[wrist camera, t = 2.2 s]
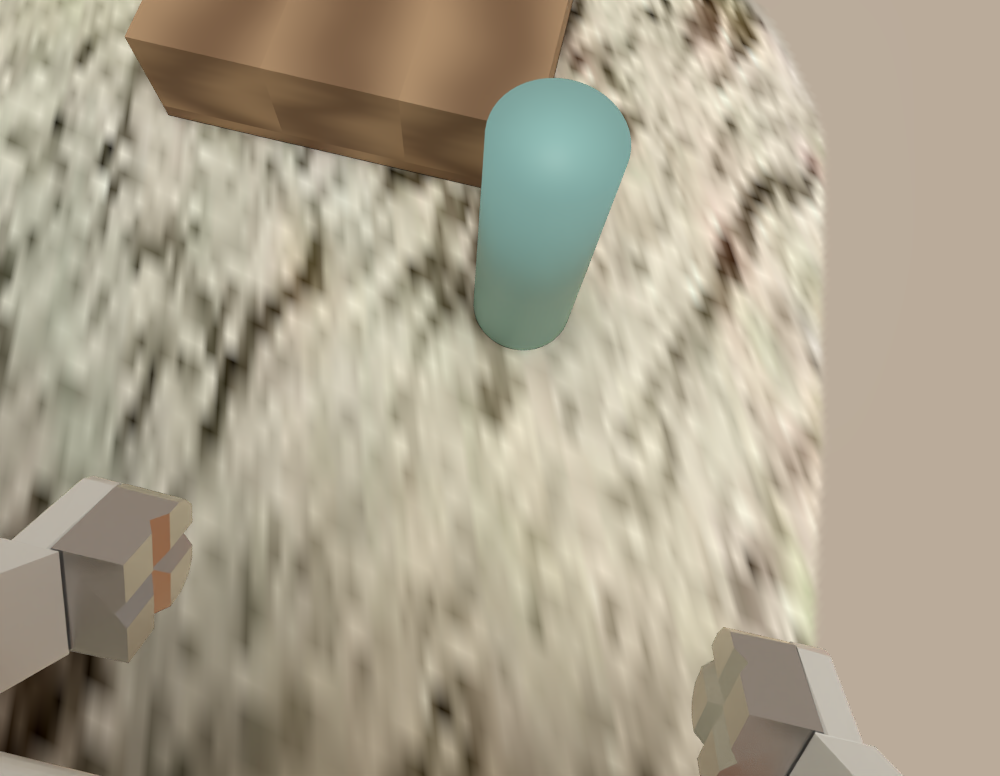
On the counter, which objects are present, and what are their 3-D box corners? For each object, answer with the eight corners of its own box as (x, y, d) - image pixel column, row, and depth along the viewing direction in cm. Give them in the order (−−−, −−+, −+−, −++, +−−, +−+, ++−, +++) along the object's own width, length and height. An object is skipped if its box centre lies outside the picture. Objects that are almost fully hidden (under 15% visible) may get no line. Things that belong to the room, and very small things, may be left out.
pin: (463, 337, 30) (469, 183, 19) (485, 252, 31) (503, 64, 20) (559, 359, 30) (617, 218, 19) (577, 273, 31) (641, 96, 20)
